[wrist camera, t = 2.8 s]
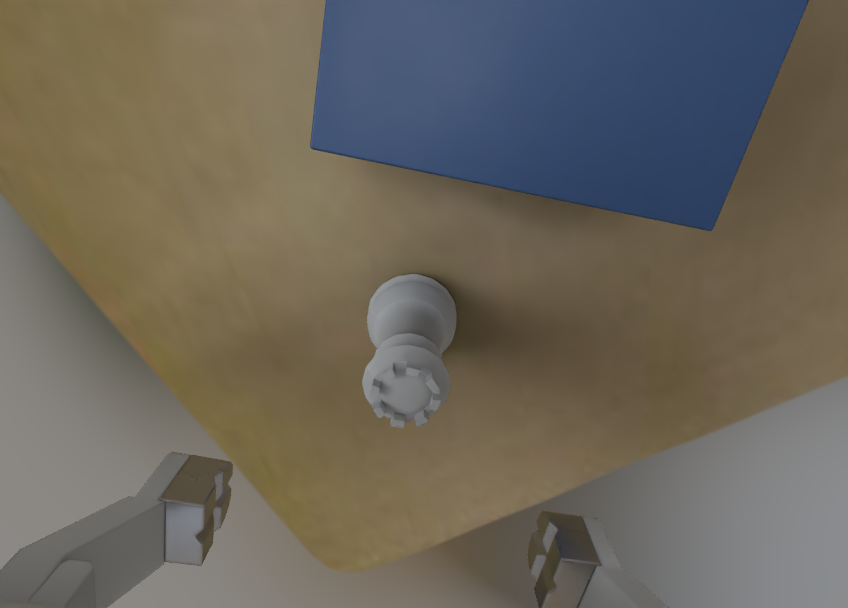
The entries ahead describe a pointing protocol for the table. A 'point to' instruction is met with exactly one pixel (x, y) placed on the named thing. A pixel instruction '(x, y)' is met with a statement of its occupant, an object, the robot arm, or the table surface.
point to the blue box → (556, 94)
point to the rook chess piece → (409, 349)
